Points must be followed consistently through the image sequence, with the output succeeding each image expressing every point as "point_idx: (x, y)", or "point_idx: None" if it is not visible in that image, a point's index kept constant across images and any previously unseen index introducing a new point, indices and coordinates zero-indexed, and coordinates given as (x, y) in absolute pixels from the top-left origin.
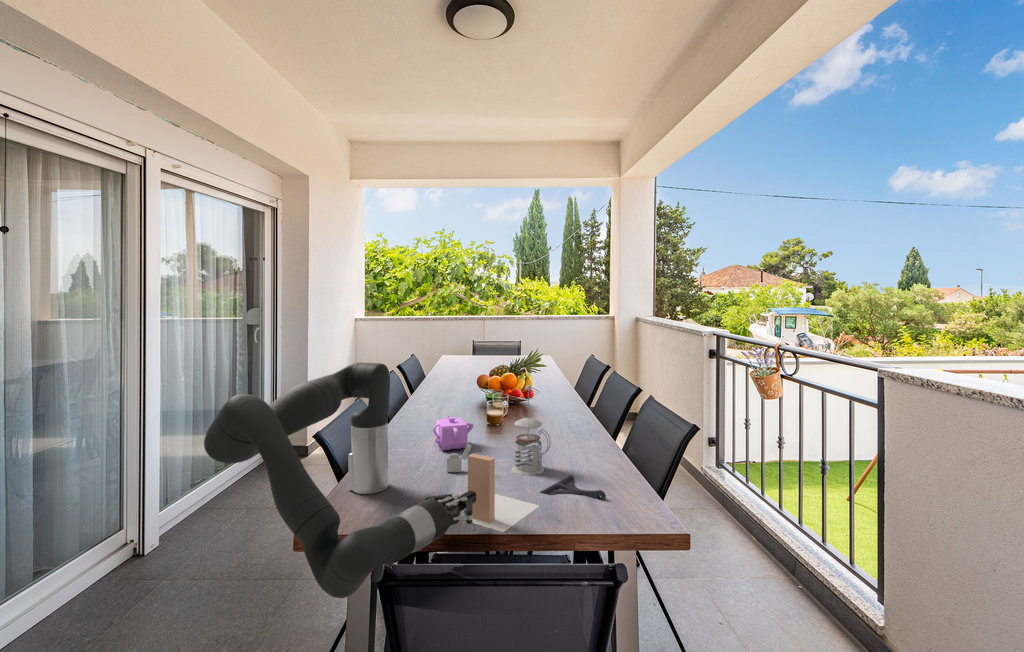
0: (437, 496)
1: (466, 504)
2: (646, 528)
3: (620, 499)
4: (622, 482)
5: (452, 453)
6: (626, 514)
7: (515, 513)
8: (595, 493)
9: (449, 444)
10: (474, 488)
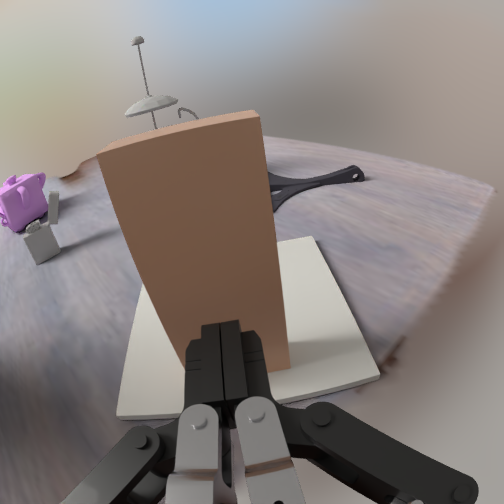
0: (86, 495)
1: (359, 466)
2: (475, 195)
3: (374, 171)
4: (327, 153)
5: (29, 224)
6: (424, 187)
7: (301, 286)
8: (348, 173)
9: (22, 217)
10: (190, 296)
